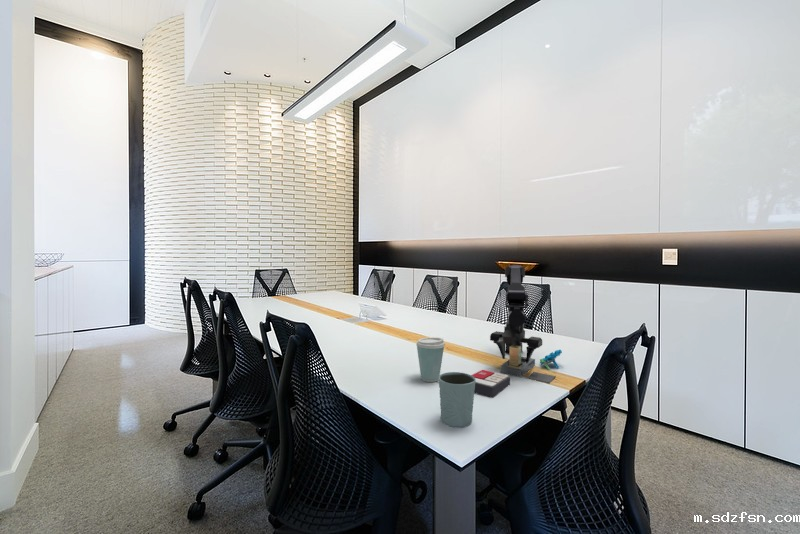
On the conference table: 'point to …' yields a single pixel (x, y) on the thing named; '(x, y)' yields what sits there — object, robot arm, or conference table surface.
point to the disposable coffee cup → (430, 357)
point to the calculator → (490, 383)
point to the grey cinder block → (519, 370)
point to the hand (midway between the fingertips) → (515, 361)
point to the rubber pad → (541, 377)
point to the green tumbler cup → (456, 398)
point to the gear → (550, 359)
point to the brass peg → (515, 355)
